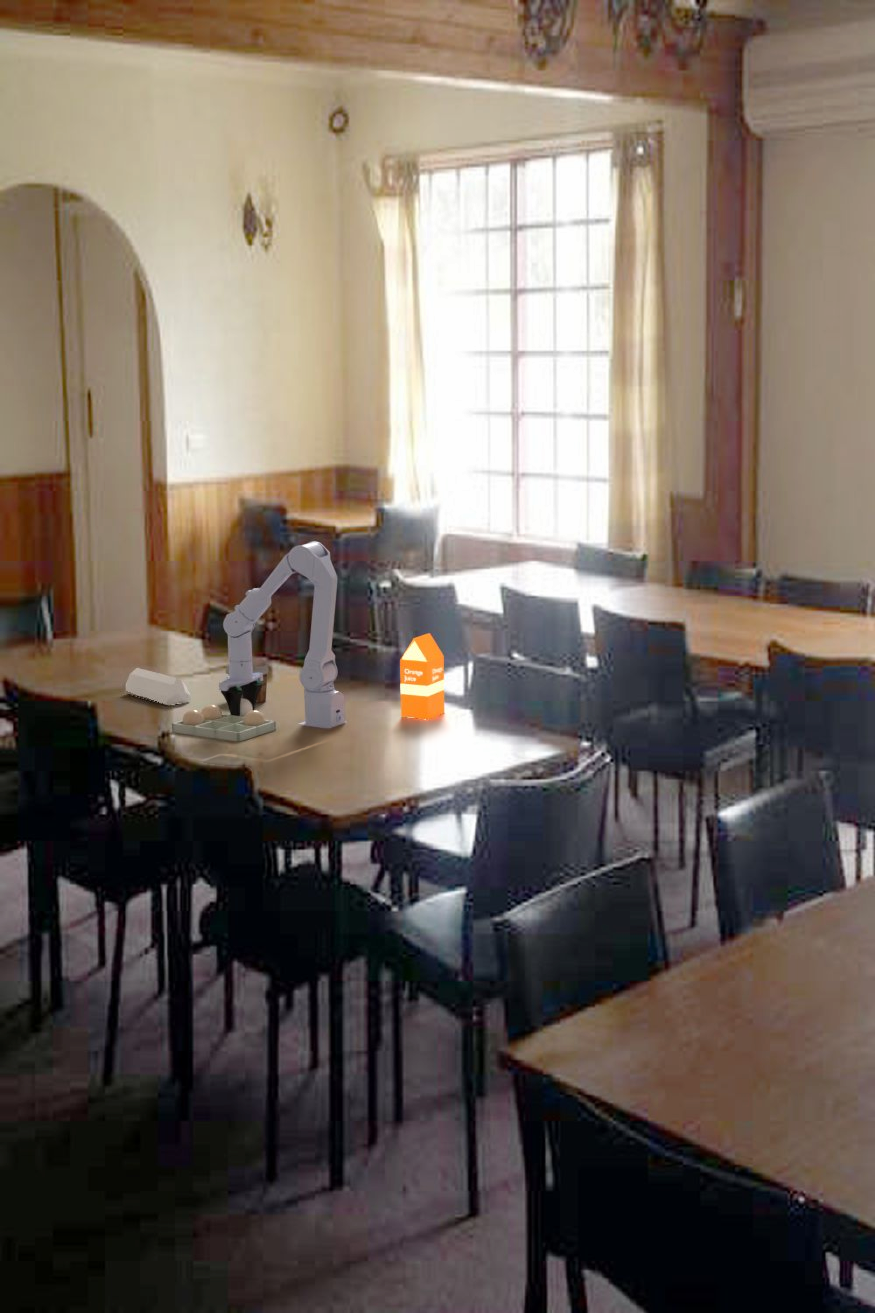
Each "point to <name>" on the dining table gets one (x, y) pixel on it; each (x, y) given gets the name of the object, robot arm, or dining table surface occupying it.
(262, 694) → the food container
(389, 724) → the dining table surface
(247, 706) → the white egg
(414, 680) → the orange juice
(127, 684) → the white trapezoid ingot
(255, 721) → the brown egg
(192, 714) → the brown egg
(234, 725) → the egg tray
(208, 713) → the brown egg
